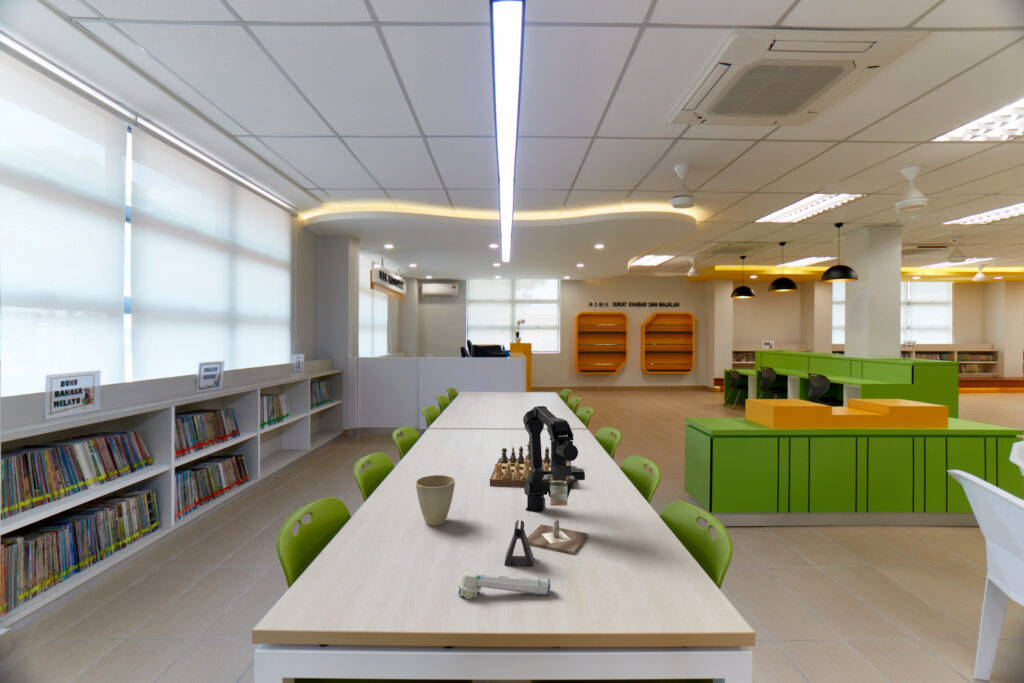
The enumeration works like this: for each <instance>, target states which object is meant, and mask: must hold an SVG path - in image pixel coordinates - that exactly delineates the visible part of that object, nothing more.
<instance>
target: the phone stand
mask: <svg viewBox="0 0 1024 683" xmlns="http://www.w3.org/2000/svg"><path fill="white" fill-rule="evenodd" d="M519 523H520V528H519ZM527 537H528V536H527V534H526V531H525V522H524V521H523V519H521V520H520V521H519V520H516V521H515V523H514V531H513V534H512V538H511V541H510V543H509V546H508V548H507V551H506V553H505V558H504V566H505V567H534V557H535V556H534V554H533V551H532V549H531V545H529V542H528V539H527ZM518 539H519V540H520V542H521V544H522V549H523V552H524V556H523V555H514V552H515V547H516V543H517V540H518Z"/></svg>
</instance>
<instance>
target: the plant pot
mask: <svg viewBox="0 0 1024 683" xmlns="http://www.w3.org/2000/svg"><path fill="white" fill-rule="evenodd" d="M455 483H456V479H455V478H454V477H452V476H449V475H446V474H445V475H443V474H442V475H441V474H433V475H426V476H421V477H420V478H418V479H417V480H415V486H416V493H417V500H418V504H419V507H420V508H419V509H420V511H421V514H422V517H423V519H424V522H425V524H426V525H428V526H432V527H434V526H437V527H438V526H441V525H443V524H445V522H446V520H447V518H448V514H449V511H450V509H451V505H452V501H453V495H454V490H455V485H456V484H455Z"/></svg>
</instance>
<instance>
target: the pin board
mask: <svg viewBox="0 0 1024 683" xmlns="http://www.w3.org/2000/svg"><path fill="white" fill-rule="evenodd" d="M588 536H589V534H588V532H583V531H577V530H572V529H568V528H561V527H560V521H559V520H558V519H554V520H553V526H552V525H546V524H542V523H541V524H540V525H539V526H538V527H537V528H536V529H535V530H533V532H532V533H530V534H529V535H528V536H527V539H528V542H529V545H530V547H535V548H541V549H545V550H551V551H555V552H559V553H563V554H569V555H573V556H574V555H575V554H576V552H577V551H578V550H579V548H580V547H581V546H582V544H583V543H584V542H585V540H586V539H587V538H588Z"/></svg>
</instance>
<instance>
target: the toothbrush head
mask: <svg viewBox="0 0 1024 683" xmlns="http://www.w3.org/2000/svg"><path fill="white" fill-rule="evenodd" d="M457 583H458V585H457V588H458V595H459V597H464V598H465V599H467V600H472V599H473V598H477V597H479V595H480V593H479V592H480V591H481V590H482V588H487V589H495V590H500V591H501V590H502V591H509V592H517V593H525V594H532V595H533V594H534V595H535V596H537V595H539V596H550V594H551V580H550V579H549V578H543V577H541V578H540V577H539V576H536V577H526V576H510V575H497V574H496V575H493V574H479V573H478V572H476V571H473V570H466V571H464V573H463V575H462V579H461V580H459V581H458V582H457Z"/></svg>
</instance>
